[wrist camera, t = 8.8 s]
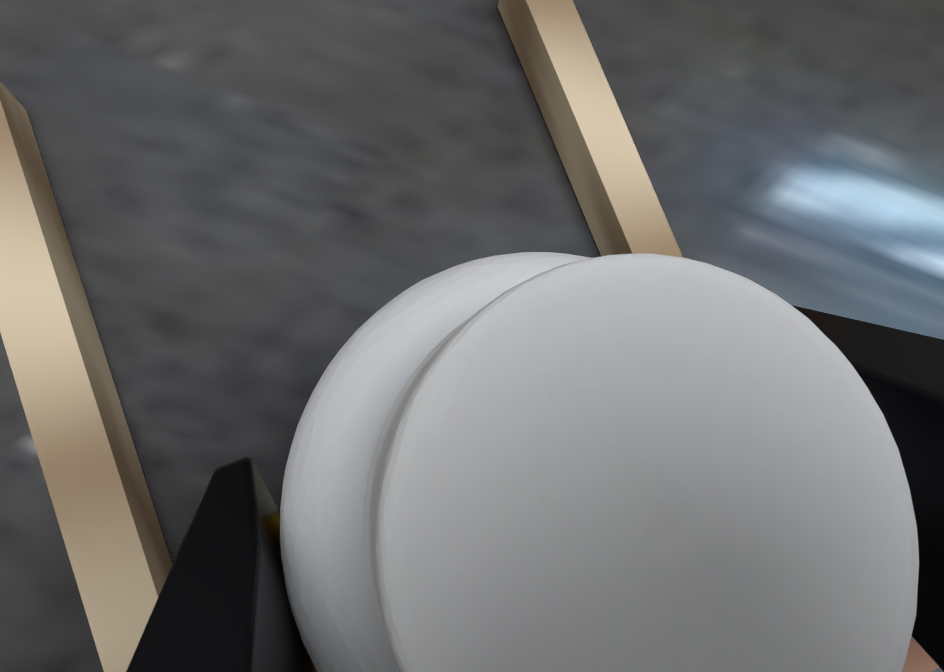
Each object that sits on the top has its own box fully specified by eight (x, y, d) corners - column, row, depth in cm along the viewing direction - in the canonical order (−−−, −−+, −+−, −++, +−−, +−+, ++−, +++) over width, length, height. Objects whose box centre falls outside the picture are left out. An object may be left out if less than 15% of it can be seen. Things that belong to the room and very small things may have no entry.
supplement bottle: (588, 585, 14) (1130, 860, 4) (335, 649, 13) (306, 1220, 3) (538, 341, 15) (898, 117, 5) (297, 379, 14) (181, 180, 4)
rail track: (805, 634, 16) (955, 691, 12) (226, 958, 12) (173, 1184, 8) (536, -3, 18) (590, -131, 14) (-32, 123, 14) (-172, -1, 10)
